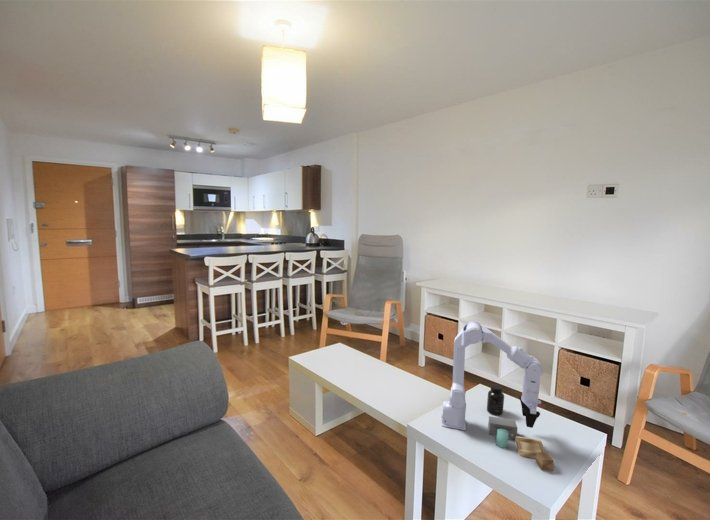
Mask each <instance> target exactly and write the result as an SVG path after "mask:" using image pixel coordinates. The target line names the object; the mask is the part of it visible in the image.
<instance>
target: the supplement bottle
mask: <svg viewBox="0 0 710 520" xmlns="http://www.w3.org/2000/svg"><path fill="white" fill-rule="evenodd" d="M486 401H487V402H486V411H487V412H488V413H489V414H490V415H492V416H495V417H497V416H502V415H503V414H504V406H505V405H504V402H505V395H504V393H503V386H502V385H501V384H496V383H495V384H491V385H490V390H488V392H487V399H486Z"/></svg>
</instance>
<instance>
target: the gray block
mask: <svg viewBox="0 0 710 520" xmlns="http://www.w3.org/2000/svg"><path fill="white" fill-rule="evenodd" d="M487 429H488V435H491V436H495V437H497V430H498V429H505V430H507V431H508V433H509V434H508V439H512V440H513V439H514V440H515V437H516V436H518V426H517V422H516V420H514V419H509V418H503V417H497V416H491V415H488V424H487Z"/></svg>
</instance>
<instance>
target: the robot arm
mask: <svg viewBox="0 0 710 520" xmlns="http://www.w3.org/2000/svg"><path fill="white" fill-rule="evenodd" d="M479 342H481V343H482V344H484V343H490V344H491V345H493V346H495V347H496V348H497V349H499V350H500V351H502V352H504V353H506V356H507V359H509V360H510V361H512V363H514V364H515V365H517V366H519V367H520V368H521V369H524V376H523V382H522V383H523V384H522V392H521V396H519V397H518V398H519V401H520V404H521V413H522V417H525V425H526V427H527V428H531V429H533V428H534V425H535V423H536V421H537V419H538V418H539V417H540V415H541V412H540V411H538V410H537V408H538V405H541V404H542V401H541V400H540V399H539V393H540V384H541V376H542V375H543V373H544V371H543V367H542V364H541V363H540V361H539V360H538V359H537V357H536V356H533V355H532V354H528V353H527V352H525V351H524V349H523V348H522V347H521V346H519V347H518V346H517V345H512V346H511V345H510V344H509V343H508V342H506V341H505V340H503V339H502V338H501V337H500V336H498V335H497V334H495V333H494V332H492V331H491V330H490V329H489V328H487V327H486V326H484V325H481V323H479V322H478V321H475V320H473V321H469V322H467V323H466V324H464V325H463V326H462V328H461V330H460V331H459V332H458V333H457V335H456V336H455V338H454V340H453V361H452V363H453V365H452V385H451V387H450V393H449V394H450V395H449V398H448V400H443V405H442V413H441V420H442V421H441V426H442V427H445V428H449V429H451V428H452V429H456V430H462V431H466V430H467V428H466V427H467V424H466V412H467V410H466V409H467V403H466V394H467V393H466V390H467V389H466V388H465V364H466V363H465V359H466V358H465V357H466V348H467V347H468V346H470V345H474V344H477V343H479Z"/></svg>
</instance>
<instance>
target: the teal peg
mask: <svg viewBox="0 0 710 520" xmlns="http://www.w3.org/2000/svg"><path fill="white" fill-rule="evenodd" d="M508 434H509V433H508V431H507V430H505V429H498V430H497V436H496V440H495V441H496V442H495V445H496V446H497V447H498V448H500V449H507V448H508V445H509V444H508V443H509V438H508Z"/></svg>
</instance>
